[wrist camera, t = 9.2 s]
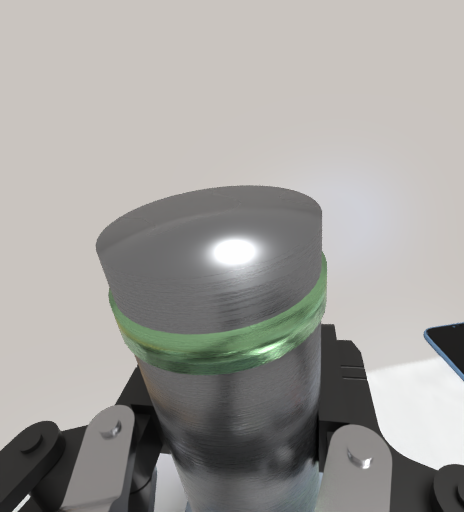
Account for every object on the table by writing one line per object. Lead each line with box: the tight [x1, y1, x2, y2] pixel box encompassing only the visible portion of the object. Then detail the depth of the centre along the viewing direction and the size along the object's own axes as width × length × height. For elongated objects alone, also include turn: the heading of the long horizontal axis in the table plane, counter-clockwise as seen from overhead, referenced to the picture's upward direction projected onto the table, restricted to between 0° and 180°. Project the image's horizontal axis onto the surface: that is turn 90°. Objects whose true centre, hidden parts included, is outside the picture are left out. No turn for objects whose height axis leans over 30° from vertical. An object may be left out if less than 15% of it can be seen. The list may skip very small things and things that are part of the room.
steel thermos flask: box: [96, 186, 327, 512], centre depth 9 cm, size 5×5×13 cm
